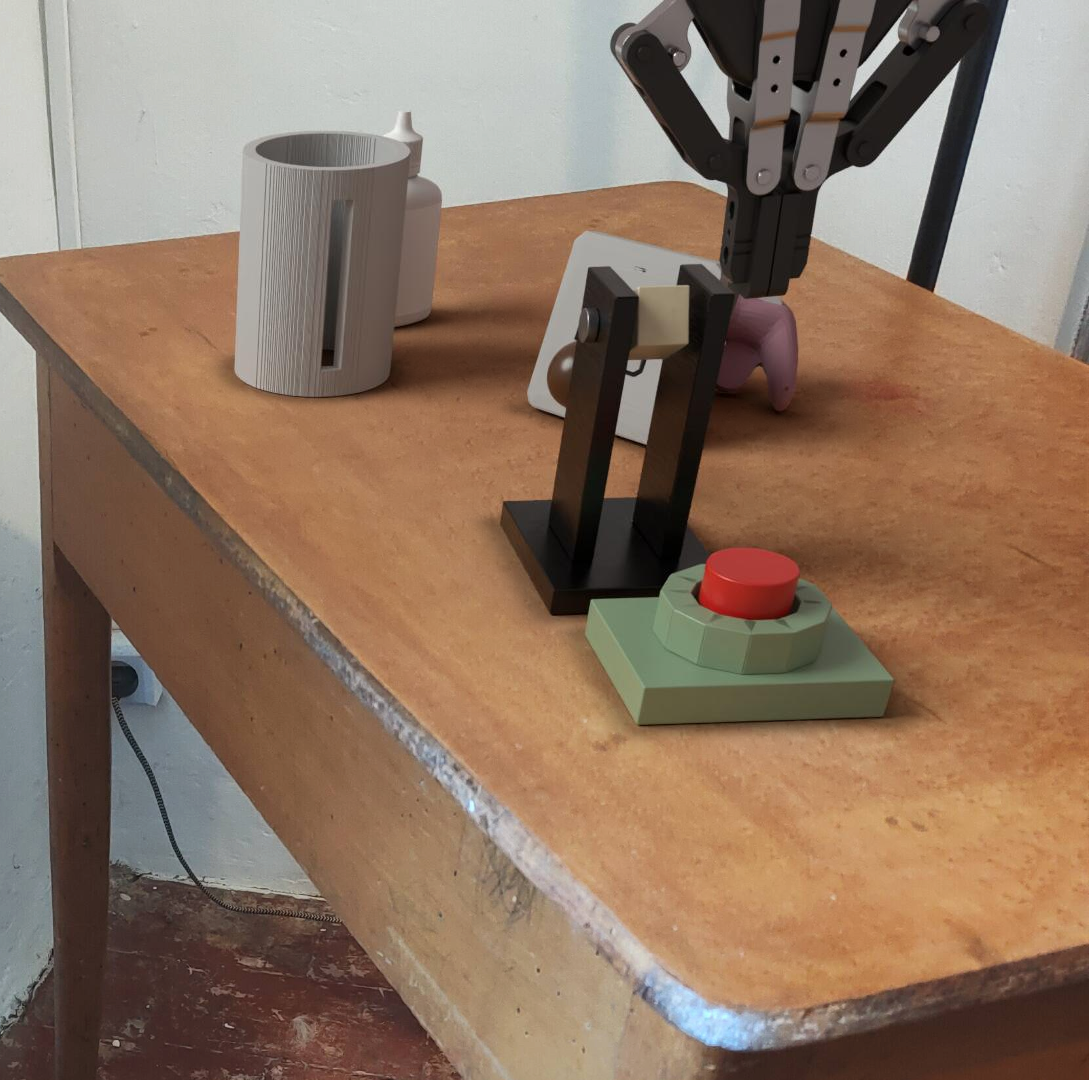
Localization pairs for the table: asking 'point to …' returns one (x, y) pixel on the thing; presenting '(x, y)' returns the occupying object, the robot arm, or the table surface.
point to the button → (749, 584)
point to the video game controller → (761, 348)
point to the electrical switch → (589, 250)
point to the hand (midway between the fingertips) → (759, 291)
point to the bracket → (586, 447)
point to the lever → (636, 334)
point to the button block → (733, 659)
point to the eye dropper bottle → (416, 231)
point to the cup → (319, 260)
